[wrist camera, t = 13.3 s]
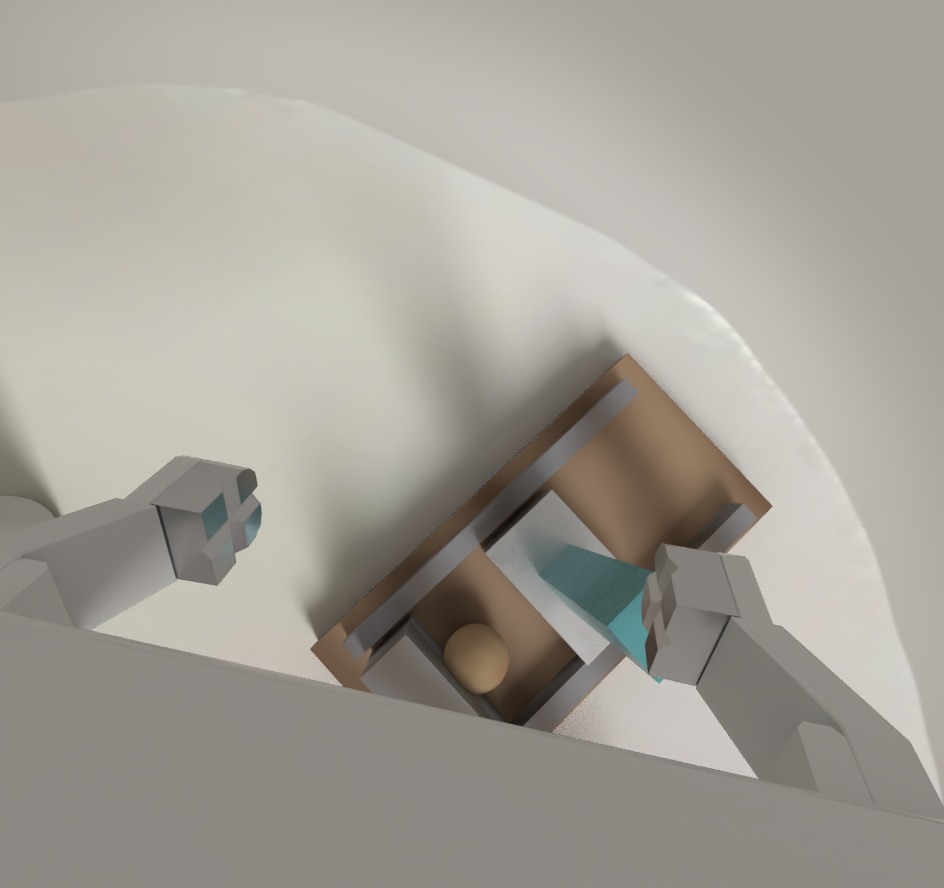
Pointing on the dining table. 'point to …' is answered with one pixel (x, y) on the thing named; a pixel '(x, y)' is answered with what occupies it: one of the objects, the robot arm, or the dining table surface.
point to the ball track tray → (497, 599)
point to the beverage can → (21, 513)
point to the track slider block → (573, 579)
